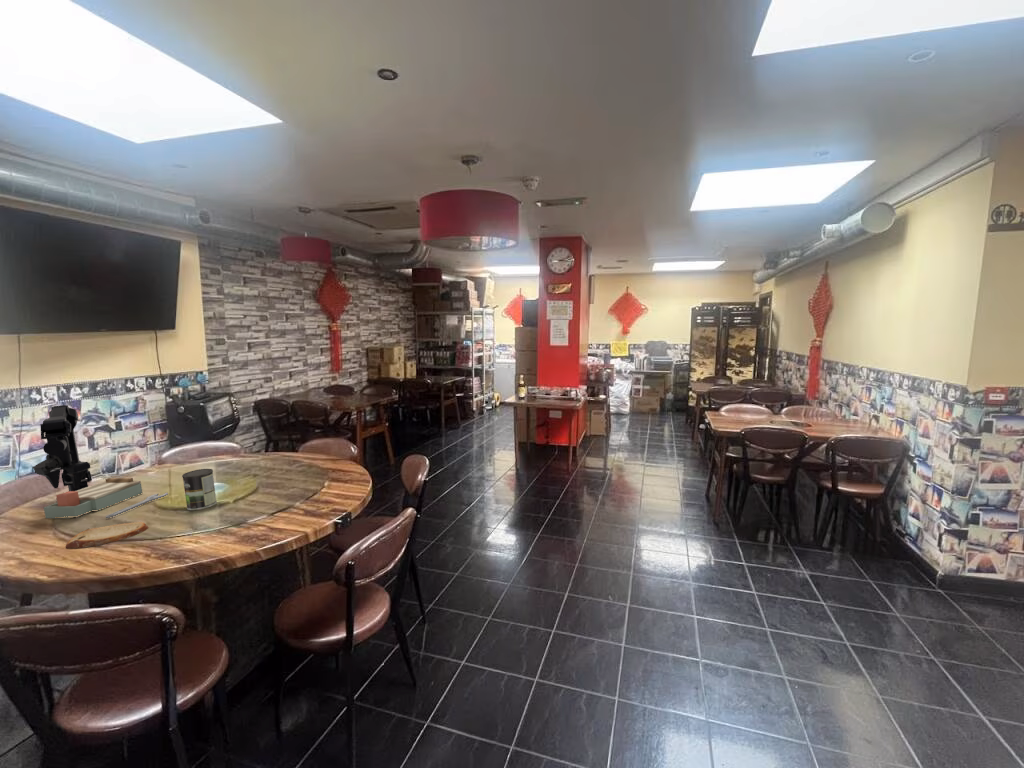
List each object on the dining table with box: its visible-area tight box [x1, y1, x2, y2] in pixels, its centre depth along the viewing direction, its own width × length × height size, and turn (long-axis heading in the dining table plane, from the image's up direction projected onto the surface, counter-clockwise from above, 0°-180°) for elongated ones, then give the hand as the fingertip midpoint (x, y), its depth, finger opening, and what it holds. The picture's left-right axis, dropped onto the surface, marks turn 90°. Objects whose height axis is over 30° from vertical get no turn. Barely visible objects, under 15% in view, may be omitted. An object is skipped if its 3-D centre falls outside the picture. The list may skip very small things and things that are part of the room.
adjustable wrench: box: [105, 492, 169, 519], centre depth 185 cm, size 25×6×2 cm, turn 169°
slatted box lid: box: [55, 477, 142, 501], centre depth 191 cm, size 18×20×3 cm
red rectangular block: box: [55, 490, 80, 506], centre depth 179 cm, size 4×4×9 cm
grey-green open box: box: [43, 482, 143, 519], centre depth 189 cm, size 18×26×5 cm
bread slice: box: [65, 521, 149, 549], centre depth 156 cm, size 18×18×4 cm
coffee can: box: [181, 468, 218, 511], centre depth 181 cm, size 10×10×14 cm
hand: (66, 488), depth 178 cm, fingers open, 9 cm apart
